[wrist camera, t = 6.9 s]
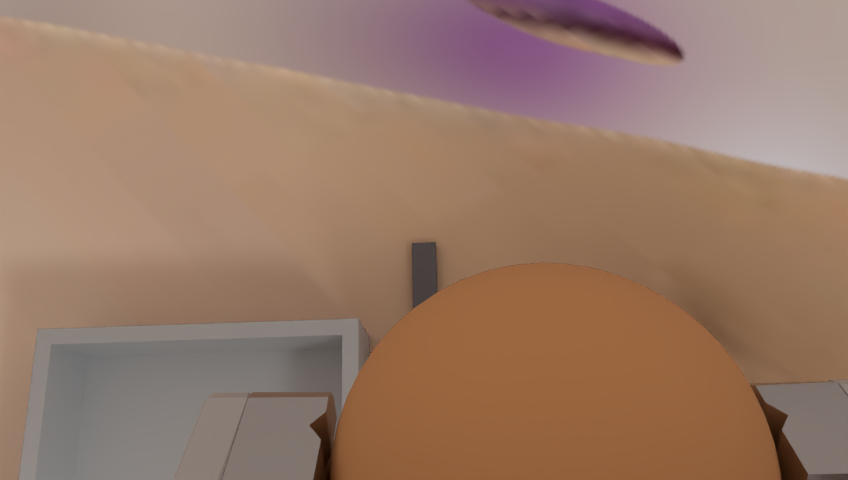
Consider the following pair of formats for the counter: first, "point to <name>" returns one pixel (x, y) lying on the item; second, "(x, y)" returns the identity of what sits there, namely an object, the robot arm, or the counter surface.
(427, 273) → the line
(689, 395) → the ball
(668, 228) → the counter surface
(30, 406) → the tray
